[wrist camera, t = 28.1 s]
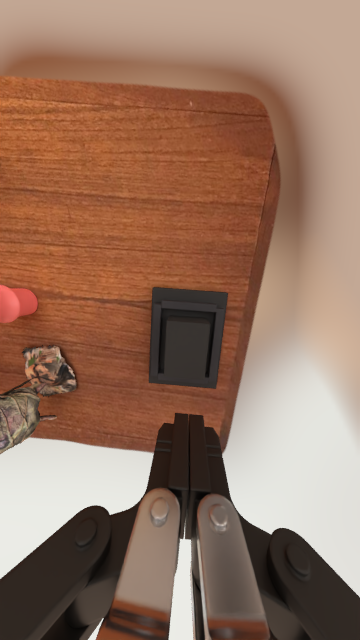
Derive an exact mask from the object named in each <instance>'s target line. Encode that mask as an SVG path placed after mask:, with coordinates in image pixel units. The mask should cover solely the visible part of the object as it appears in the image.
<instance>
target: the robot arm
mask: <svg viewBox="0 0 360 640" xmlns="http://www.w3.org/2000/svg"><path fill="white" fill-rule="evenodd" d="M184 527H185V539H191V553H192V554H191V555H192V561H191V569H190V580H191V600H192V617H193V636H194V637H193V638H194V640H360V597H359V596H358V595H357V594H356V593H355V592H354V591H353V590H352V589H351V588H350V587H349V586H348V585H347V584H346V583H345V582H344V581H343V580H342V578H341V577H340V576H339V575H338V574H336V572H335V571H334V570H333V569H332V568H331V567H330V566H329V565H328V564H327V563H326V562H325V561H324V560H323V559H322V557H320V555H319V554H318V553H317V552H316V551H315V550H314V549H313V548H312V547H311V546H310V545H309V544H308V543H307V542H306V541H305V540H304V539H303V538H302V537H301V536H299V535H298V534H297V533H295V532H294V531H291V530H289V529H286V528H279V529H276V530H275V531H274V532H273V533H272V535H271V534H269V533H267V532H265V531H263V530H261V529H260V528H258V527H256V526H254V525H252V524H250V523H249V522H248V521H246V520H245V519H244V518H243V517H242V516H241V515H240V514H239V513H238V511H237V510H236V508H235V506H234V504H233V502H232V500H231V497H230V493H229V488H228V483H227V477H226V472H225V467H224V463H223V458H222V452H221V448H220V442H219V436H218V435H217V433H216V432H215V430H214V429H213V428H212V427H204V419H203V415H192V414H189V422H188V414H181V413H175V419H174V424H170V423H164V424H163V425H162V427H161V428H160V429H159V431H158V436H157V442H156V446H155V451H154V456H153V461H152V466H151V472H150V476H149V481H148V486H147V489H146V492H145V494H144V496H143V497H142V498H141V500H140V501H139V502H138V503H137V504H136V505H135V506H133V507H132V508H130V509H128V510H125V511H122V512H119V513H116V514H113V515H109V512H108V511H107V510H106V509H105V508H104V507H101V506H90V507H87V508H85V509H83V510H81V511H80V512H79V513H77V514H76V515H75V516H74V517H73V518H71V519H70V520H69V521H68V522H67V523H66V524H65V525H63V526H62V527H61V528H60V529H59V530H57V531H56V532H55V533H54V534H53V535H52V536H50V537H49V538H48V539H47V540H46V541H45V542H43V543H42V544H41V545H40V546H39V547H38V548H36V549H35V550H34V551H33V552H32V553H30V554H29V555H28V556H27V557H26V558H25V559H23V560H22V561H21V562H20V563H19V564H18V565H17V566H15V567H14V568H13V569H12V570H11V571H9V572H8V573H7V574H6V575H5V576H4V577H2V578H1V579H0V640H88V638H89V637H90V636H91V634H92V633H93V631H94V630H95V629H96V627H97V626H98V624H99V623H100V621H101V620H102V618H104V619H103V622H102V624H101V626H100V629H99V632H98V635H97V638H96V640H168V638H169V628H170V617H171V607H172V596H173V586H174V585H173V584H174V576H175V573H176V570H177V564H178V553H179V543H180V539H183V537H184Z"/></svg>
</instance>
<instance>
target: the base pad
mask: <svg viewBox="0 0 360 640" xmlns="http://www.w3.org/2000/svg"><path fill="white" fill-rule="evenodd" d="M227 297H228V293H226V292H213V291H199V290H186V289H172V288H159V287H153V291H152V316H151V340H150V365H149V383H159V384H170V385H181V386H192V387H203V388H214V389H216V385H217V377H218V369H219V361H220V353H221V345H222V337H223V329H224V321H225V313H226V305H227ZM170 315H178V316H191V317H204V318H207V319H208V321H209V323H210V333H209V342H208V351H207V361H206V370H205V379H204V380H199V379H188V378H176V377H164V361H165V343H166V325H167V320H168V318H169V316H170Z"/></svg>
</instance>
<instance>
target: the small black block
mask: <svg viewBox="0 0 360 640" xmlns="http://www.w3.org/2000/svg"><path fill="white" fill-rule="evenodd" d="M209 333H210V323H209V321H208V319H207V318H204V317H191V316H178V315H170V316H169V318H168V320H167V325H166V343H165V361H164V377H176V378H188V379H199V380H204V379H205V370H206V361H207V351H208V342H209Z"/></svg>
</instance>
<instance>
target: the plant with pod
mask: <svg viewBox="0 0 360 640" xmlns="http://www.w3.org/2000/svg"><path fill="white" fill-rule="evenodd" d="M42 348H43V349H42ZM42 348H41V346H40V350H39V348H37V349H36V346H35V347H34V348H32V349H31V348H27V347H26V348H25V349H23V350H24V351H23V352H22V353H24V354H23V355H24V356H23V357H24V358H25V359H26V362H25V364H26V369H25V373H26V375H27V377H26V378H27V379H29V380H28V381H26V382H24V383H22V384H21V385H19V386H17V387H14V388H12V389H11V390H9V391H7V392H5V393H3V394H0V454H1V453H3V452H4V451H6V450H8V449H9V448H12V447H14V446H15V445H17V444H19V443H22V442H23V441H24V440H25V439H27V438H29V437H30V435H31V434H33V432H34V430H35V428H36V426H37V425H38V423H39V422H40V421H44V420H47V419H48V420H49V419H55V418H57V416H56V415H49V416H47V415H46V416H40V413H39V411H38V406H39V402H40V398H39V397H38V396H37V394H38V393H39V392H40V394H42V395H43V397H44V396H48V397H49V396H51V395H54V394H60V393H64V392H65V393H66V392H67V391H69V392H71V391H74V390H76V388H77V387H76V386H77V385H76V384H75V383H76V382H75V381H76V380H75V377H74V376H75V375H74V374H73V370H72V369H71V367H69V366H68V364H65V359H64V358H62V357H61V354H60V351H59V347H56V346H54V345H53V348H52V347H51V346H50V345H49V346H48V347H45V346H43V345H42ZM29 381H30V382H29ZM28 382H29V383H31V384H33V385H32V386H30V387H25V388H19V389H17V390H14V389H16V388H18V387H21V386H23V385H24V384H26V383H28Z"/></svg>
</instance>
